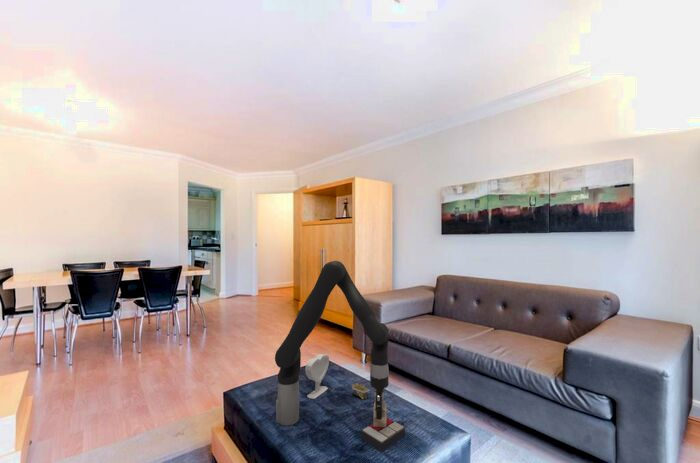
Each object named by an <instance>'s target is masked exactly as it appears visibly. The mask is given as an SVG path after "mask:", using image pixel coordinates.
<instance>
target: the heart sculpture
mask: <svg viewBox="0 0 700 463" xmlns="http://www.w3.org/2000/svg"><path fill="white" fill-rule="evenodd" d="M329 364H330V356H329V355H328V354H325V353H319V354H317V355H316V356H315V357H311V358H310V359H309V360H308V361H307V362H306V364H305V368H304V369H305V376H306V377H307V378H308V379H309V380H311V381H314V382H315V383H314V384H315V385H314V386H315V389H314V390H313V391H311V392H310V393H309V394H307V395H306V396H307V398H309V399H316V398H317V397H319V396H320V395H322V394H323V393H324V392H326V391H327V390H328V389H329V387H327V386H326V385H325V386H323V385H321V383H322V381H323V379H324V377H325V376H326V374H327V371H328V369H329Z"/></svg>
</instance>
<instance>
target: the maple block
mask: <svg viewBox="0 0 700 463" xmlns="http://www.w3.org/2000/svg"><path fill="white" fill-rule="evenodd" d="M373 404H374V405H373V408H372V409H373V413H372V415H373V423H372V424H373V426H376V427H386V417H387V402H383V404H382V419H381V420H378V419H376V410H375V408H376V403H375V401H374V403H373ZM377 407H381V406H380V405H377Z"/></svg>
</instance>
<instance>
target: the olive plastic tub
mask: <svg viewBox="0 0 700 463" xmlns="http://www.w3.org/2000/svg"><path fill="white" fill-rule="evenodd" d="M351 390H353V395H354V396H358V397H360V398H361V399H362V400H364V399H366V400H367V399H368V392H370V389H369V388H367V387H366V386H365V385H364V384H360V383H357V382H355V383H352V384H351Z"/></svg>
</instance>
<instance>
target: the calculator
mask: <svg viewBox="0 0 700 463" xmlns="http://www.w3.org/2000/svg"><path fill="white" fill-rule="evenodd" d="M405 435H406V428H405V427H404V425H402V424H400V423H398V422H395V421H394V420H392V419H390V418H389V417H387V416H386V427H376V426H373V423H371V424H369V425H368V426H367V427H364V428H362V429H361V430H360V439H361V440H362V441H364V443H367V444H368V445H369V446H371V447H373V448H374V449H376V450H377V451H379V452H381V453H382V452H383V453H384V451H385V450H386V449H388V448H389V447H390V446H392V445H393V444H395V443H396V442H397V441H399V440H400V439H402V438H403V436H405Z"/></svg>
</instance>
